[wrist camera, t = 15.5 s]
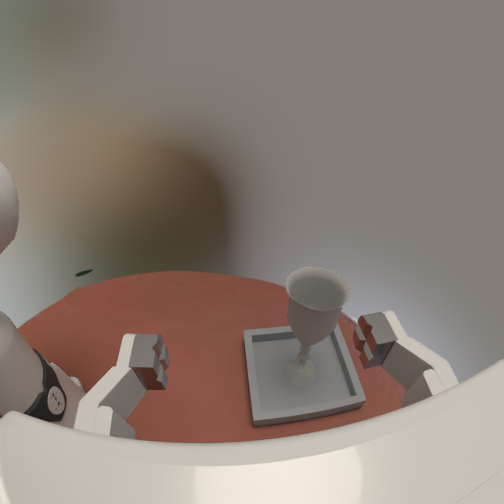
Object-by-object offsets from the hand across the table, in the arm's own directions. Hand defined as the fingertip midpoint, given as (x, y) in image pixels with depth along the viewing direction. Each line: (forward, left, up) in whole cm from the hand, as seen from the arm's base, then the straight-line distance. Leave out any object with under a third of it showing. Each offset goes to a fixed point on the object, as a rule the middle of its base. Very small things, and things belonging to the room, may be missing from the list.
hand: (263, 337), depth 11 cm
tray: (+8, +14, -30) cm, 34 cm away
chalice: (+8, +14, -29) cm, 33 cm away
